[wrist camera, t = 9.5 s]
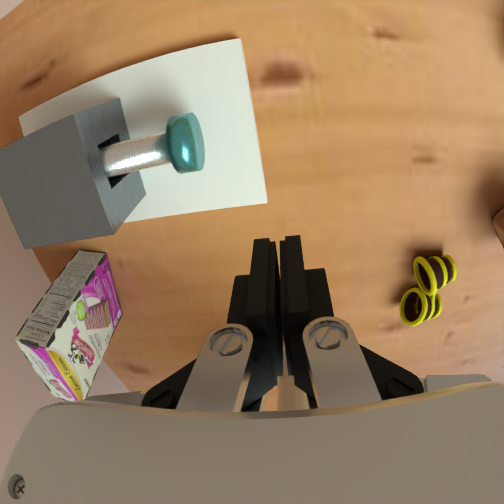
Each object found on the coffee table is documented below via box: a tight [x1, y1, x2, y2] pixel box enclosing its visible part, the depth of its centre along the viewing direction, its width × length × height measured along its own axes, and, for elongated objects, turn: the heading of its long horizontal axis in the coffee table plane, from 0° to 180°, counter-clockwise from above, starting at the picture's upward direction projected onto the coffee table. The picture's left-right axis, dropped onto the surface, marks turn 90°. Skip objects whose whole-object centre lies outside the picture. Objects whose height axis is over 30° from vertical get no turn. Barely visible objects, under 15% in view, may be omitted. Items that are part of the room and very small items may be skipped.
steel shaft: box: [99, 112, 205, 178], centre depth 25 cm, size 23×5×5 cm, turn 99°
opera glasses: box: [399, 254, 457, 326], centre depth 34 cm, size 10×5×5 cm, turn 2°
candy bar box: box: [15, 250, 123, 401], centre depth 33 cm, size 11×5×16 cm, turn 177°
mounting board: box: [19, 38, 267, 223], centre depth 28 cm, size 26×16×1 cm, turn 99°
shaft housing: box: [0, 98, 146, 249], centre depth 25 cm, size 12×10×8 cm
